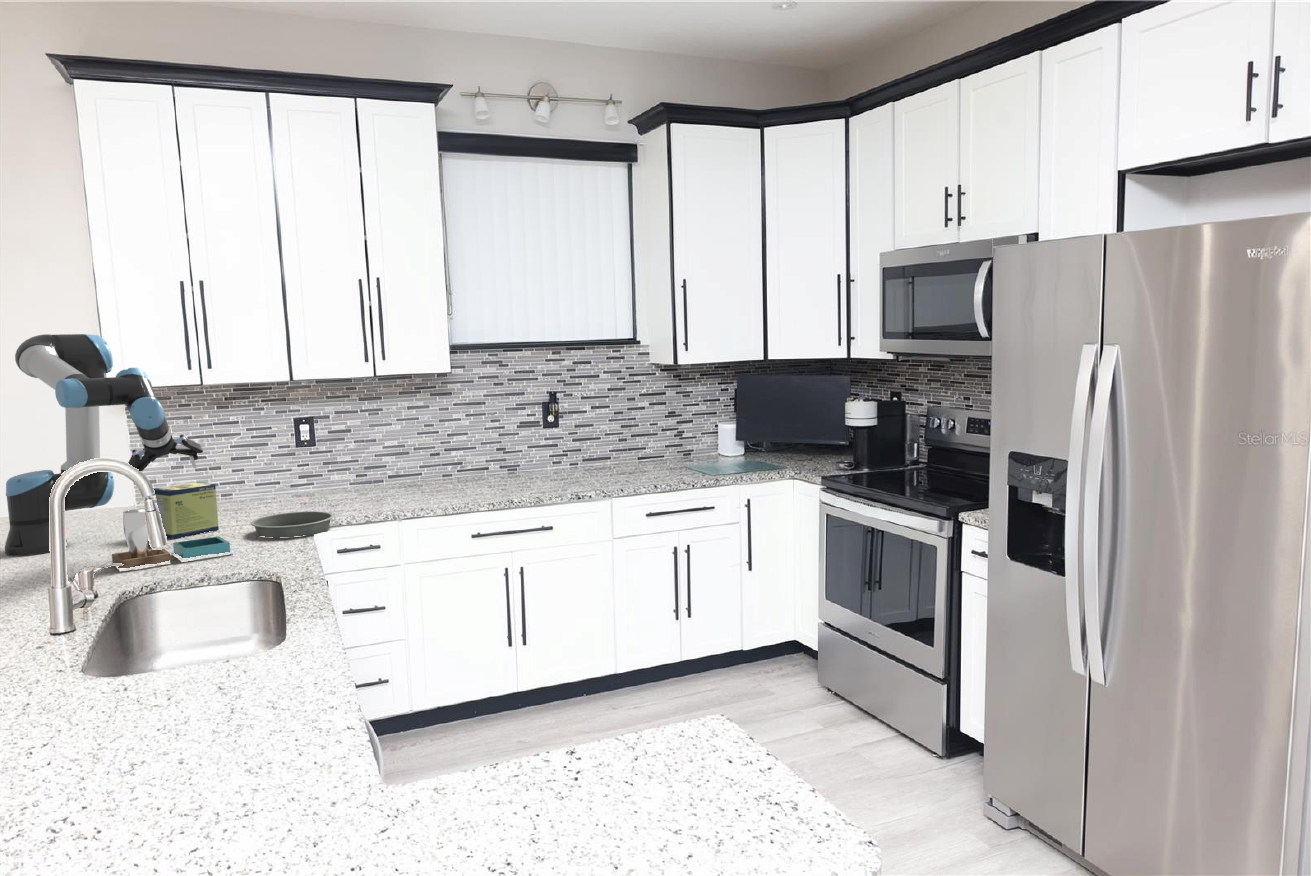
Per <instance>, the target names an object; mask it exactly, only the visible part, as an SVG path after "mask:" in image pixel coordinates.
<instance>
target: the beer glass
mask: <svg viewBox="0 0 1311 876" xmlns="http://www.w3.org/2000/svg"><path fill="white" fill-rule="evenodd" d="M145 509H146V508H135V509H128V510H125V511H123V514H122V515H123V516H122V521H123V522H122V524H123V525H122V526H123V534H124V537H125V540H126V544H127V547H128V551H129V553H130V559H133V558H140V557H146V556H153V555H152V548H153V547H152V548H151V547H150V545H149V541H148V532H147V528H146V522H145Z"/></svg>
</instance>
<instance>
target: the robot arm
mask: <svg viewBox="0 0 1311 876" xmlns="http://www.w3.org/2000/svg"><path fill="white" fill-rule="evenodd" d="M14 361H15V363H16V366H17V367H18V369H19V370H20V371H21V372H23V374H26V375H27V376H29V377H31V378H35V379H39V380H40V381H42V382H43V383H44V384H46V385H47V386H49V387H50V388H51V389H53V390H55V393H54V394H55V399H56V401H57V402H58V405H59V406H60V407H61V408H64V410H65V412H64V413H65V448H66V450H65V451H66V452H65V453H66V461H64V462H63V464H61V465H60V473H55V472H54V471H53V470H52V469H43V470H42V469H41V470H35V471H34V470H33V471H30V472H25V473H22V474H17V475H14V476H11V477H9V478H8V479H7V481H6V483H5V497H6V502H7V511H8V520H9V521H8V522H9V531H8V533H7V538H6V541H5V544H4V555H6V556H11V557H12V556H13V557H14V556H17V557H18V556H31V555H40V554H41V555H42V554H47V553H50V552H49V497H50V493H51V489H52V487H53V485H54V484H55V482H56V480H57V479H58V478H59V477H60V476H61V474H62V473H63V472H64V471H66V470H68V469H69V468H70V467H73V466H74V465H76V464H78V463H79V462H84V461H87V460H90V459H94V458H100V459H101V448H100V447H101V445H100V443H101V440H100V437H101V436H100V434H101V433H100V432H101V431H100V407H105V406H106V407H108V406H110V407H111V406H126V408H127V410H128V411H129V414H130V415H129V416H130V417H131V419H132V422H133V424H134V426H135V428H136V430H137V433H138V437H139V438H140V441H141V443H142V446H143V449H142V450H138V451H137V449H132V450H131V453H132V455H131V457H130V459H129V460H128V462H127V464H128V463H129V464H130V465H132V466H133V467H135V468H137V469H139V471H142V472H143V471H144V470H145V469H146V468H147V467H148V466H149V465H150V464H151V463H153V462H154V461H155V460H157V459H158V458H161V457H163V456H168V455H170V454H171V455H177V454H179V455H182V456H183V455H185V456H188V457H189V459H190V463H191V465H192V467H193V469H197V465H196V462H195V461H197V460H199V455H198V454H202V453H203V452H204V450H203V448H202V446H201V444H199V443H198V442H196V441H193V439H189V438H187V437H186V436H185V435H184V434H180V435H179V438H176V439H174V438H173V435H172V432H171V429H170V425H169V423H168V422H167V418H166V415H165V414H166V413H165V409H164V408H163V406H162V404H161V403H160V401H159V399H158V397H157V395H156V393H155V390H154V387H153V384H152V382H151V380H150V378H149V377H148V375H147V373H146V372H145V371H144V370H143V369H142V368H139V367H128V368H127V369H125V368H124V369H121V370H120V371H119V372H117V374H115V376H113V377H105V374H109V373H110V372H111V371H112V370H113V367H114V361H113V354H112V351H111V348H110V346H109V344H108V342H107V341H106V339H105V338H103V337H102V336H100V335H98V334H87V333H80V334H79V333H72V334H71V333H70V334H69V333H68V334H51V333H50V334H48V333H47V334H46V333H45V334H38V335H35V336H31V337H29V338H27V339H26V340H24V341H22V342H21V344H20V345H19V346H18V347H17V349H16V351H15V354H14ZM111 472H112V471H111ZM111 472H97V473H93V474H90V475H88V476H84V477H83V478H81V479H79V481H76V482H75V483H74V485H72V486H71V487H70V490H69V491H68V493H67V495H66V497H65V511H64V512H68V511H75V510H76V511H77V510H82V509H94V508H96V507H100V506H101V507H102V506H104V505H106V504H108V503H109V502H110V500H111V499H112V498H113V495H114V489H115V480H114V474H113V472H112V473H111ZM66 542H67V543H68V539H67V538H66Z"/></svg>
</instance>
